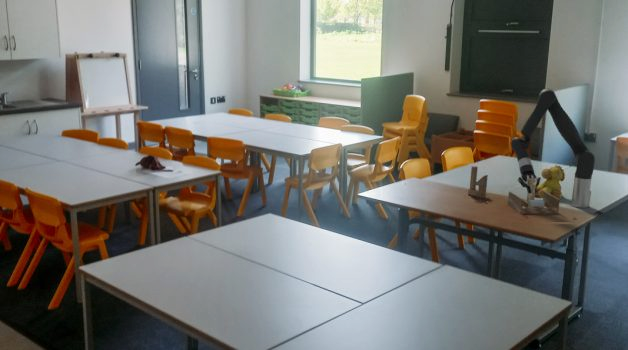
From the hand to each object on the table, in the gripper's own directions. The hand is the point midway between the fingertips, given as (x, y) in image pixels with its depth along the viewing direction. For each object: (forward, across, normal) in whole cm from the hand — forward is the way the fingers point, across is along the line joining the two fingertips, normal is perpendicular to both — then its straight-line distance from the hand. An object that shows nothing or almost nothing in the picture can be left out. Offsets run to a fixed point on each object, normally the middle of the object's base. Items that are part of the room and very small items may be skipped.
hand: (532, 192), depth 375 cm
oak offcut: (+11, 0, +2) cm, 11 cm away
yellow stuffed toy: (-15, +26, +30) cm, 43 cm away
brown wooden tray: (+9, 0, +6) cm, 10 cm away
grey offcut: (+8, 0, 0) cm, 8 cm away
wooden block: (-15, -21, +29) cm, 39 cm away
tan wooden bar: (+4, 0, +7) cm, 8 cm away
